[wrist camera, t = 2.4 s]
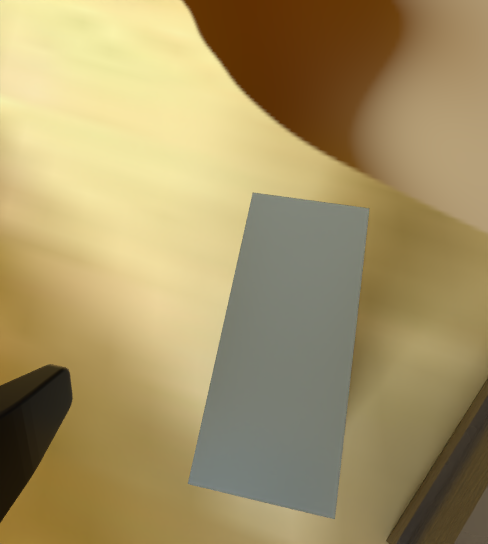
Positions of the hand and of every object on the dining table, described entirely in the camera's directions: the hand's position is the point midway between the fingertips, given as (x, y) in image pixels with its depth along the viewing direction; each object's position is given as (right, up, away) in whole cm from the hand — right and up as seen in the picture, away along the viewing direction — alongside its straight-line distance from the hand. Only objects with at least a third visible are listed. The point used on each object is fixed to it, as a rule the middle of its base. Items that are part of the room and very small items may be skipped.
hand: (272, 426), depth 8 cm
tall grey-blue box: (+1, -1, +10) cm, 10 cm away
